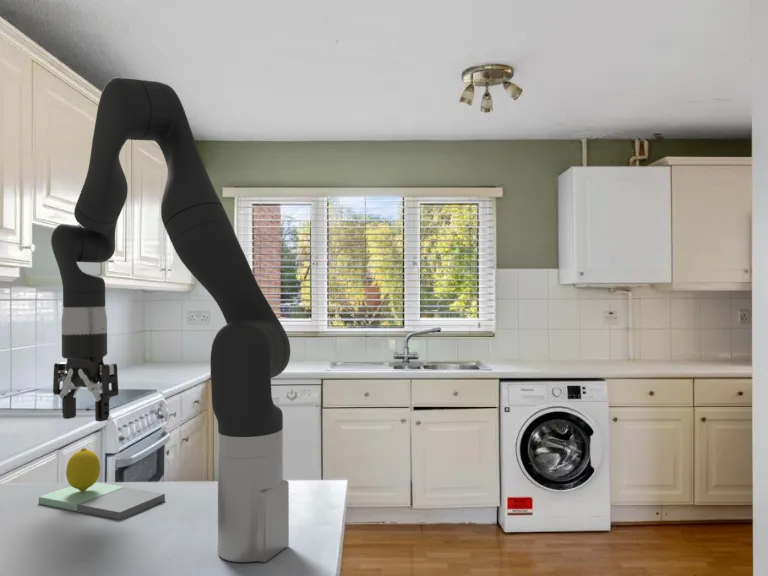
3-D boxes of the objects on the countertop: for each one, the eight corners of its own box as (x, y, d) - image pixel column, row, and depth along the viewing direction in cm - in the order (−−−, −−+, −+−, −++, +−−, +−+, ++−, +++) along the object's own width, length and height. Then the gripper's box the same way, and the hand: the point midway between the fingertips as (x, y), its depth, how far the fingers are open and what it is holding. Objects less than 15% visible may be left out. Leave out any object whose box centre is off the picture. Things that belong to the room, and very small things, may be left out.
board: (164, 500, 104) (164, 493, 105) (119, 519, 95) (119, 512, 95) (87, 487, 112) (87, 480, 112) (38, 503, 103) (38, 496, 103)
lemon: (85, 497, 102) (86, 452, 103) (58, 495, 104) (59, 451, 104) (106, 488, 108) (107, 445, 108) (80, 486, 109) (81, 443, 109)
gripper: (129, 330, 107) (130, 418, 107) (76, 330, 113) (76, 413, 113) (94, 332, 101) (95, 426, 100) (39, 332, 106) (40, 421, 106)
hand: (85, 419), depth 106 cm, fingers open, 8 cm apart
